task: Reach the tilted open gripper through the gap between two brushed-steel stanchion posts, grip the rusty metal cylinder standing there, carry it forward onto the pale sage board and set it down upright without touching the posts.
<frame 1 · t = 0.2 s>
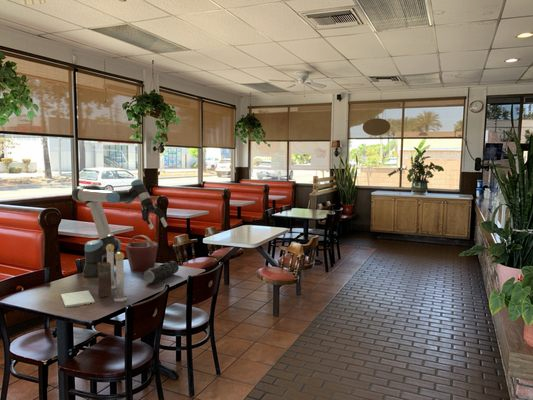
hand: (159, 227, 280), 36 cm above the table, tool tilted 35°, fingers open, 13 cm apart
bucket: (143, 269, 310), on the table
rusty metal cylinder: (104, 295, 250), on the table
sage board: (77, 299, 242), on the table
stanchion posts: (115, 293, 253), on the table
muzzle brake: (161, 280, 284), on the table
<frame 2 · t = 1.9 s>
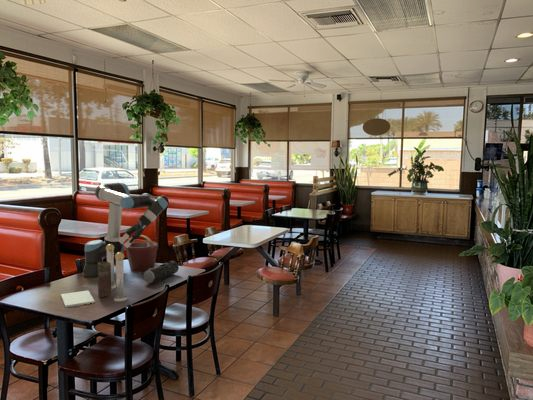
hand: (122, 244, 253), 30 cm above the table, tool tilted 45°, fingers open, 13 cm apart
nothing on the table moved.
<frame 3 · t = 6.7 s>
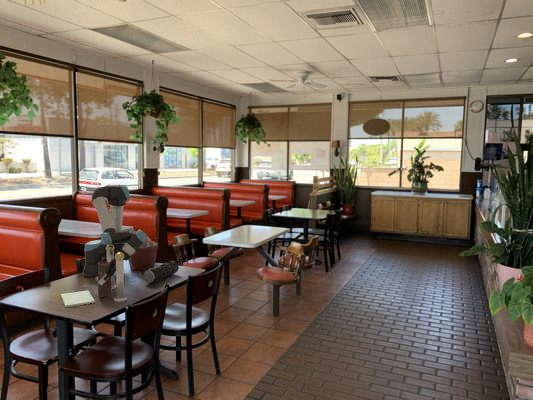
hand: (98, 282, 247), 9 cm above the table, tool tilted 45°, fingers closed on rusty metal cylinder, 7 cm apart
rusty metal cylinder: (105, 295, 250), on the table, touching gripper
everything else where it was.
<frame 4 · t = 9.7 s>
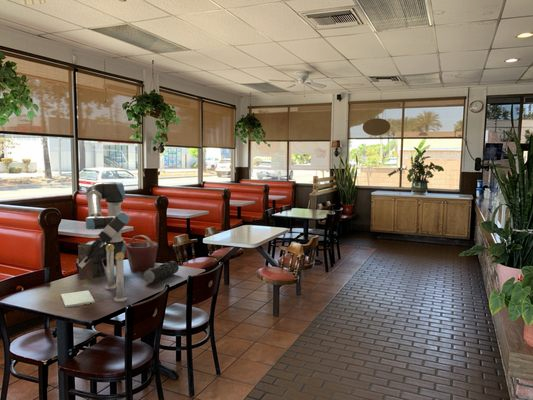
hand: (79, 265, 240), 20 cm above the table, tool tilted 45°, fingers closed on rusty metal cylinder, 7 cm apart
rusty metal cylinder: (86, 279, 243), point 12 cm above the table, touching gripper
everything else where it was.
when the fingers open (12 cm above the table, at t = 12.8 s): rusty metal cylinder drops 2 cm, resting on sage board.
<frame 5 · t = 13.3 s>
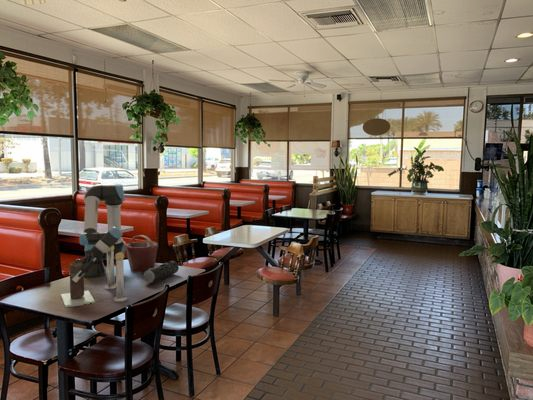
hand: (72, 278, 239), 13 cm above the table, tool tilted 45°, fingers open, 13 cm apart
rusty metal cylinder: (77, 297, 242), point 1 cm above the table, touching sage board
everything else where it was.
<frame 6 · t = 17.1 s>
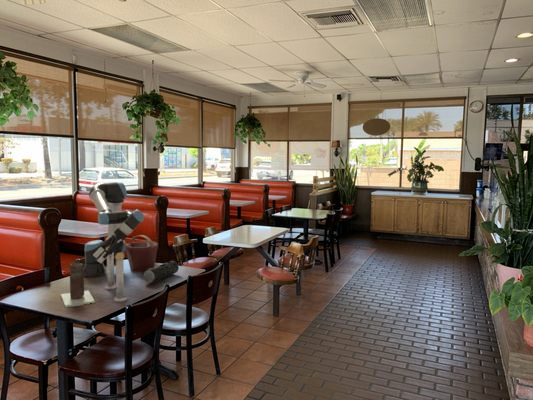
hand: (96, 259, 245), 23 cm above the table, tool tilted 45°, fingers open, 13 cm apart
nothing on the table moved.
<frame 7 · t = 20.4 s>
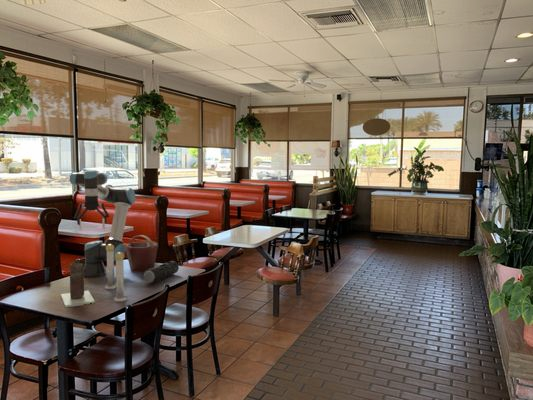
hand: (92, 229, 263), 37 cm above the table, tool pointing down, fingers open, 13 cm apart
nothing on the table moved.
at the end: rusty metal cylinder inside the target area on the sage board (0.1 cm from its centre), point 1.0 cm above the sage board's base; rusty metal cylinder tilted 0°; rusty metal cylinder touching sage board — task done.
